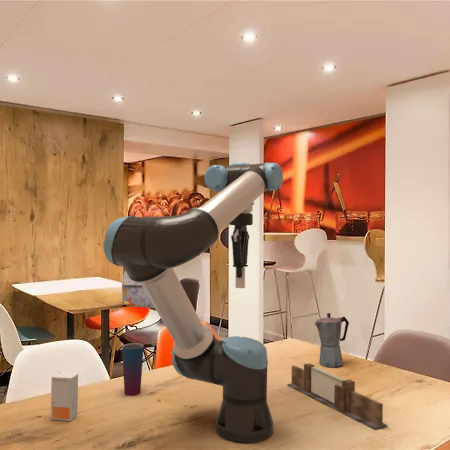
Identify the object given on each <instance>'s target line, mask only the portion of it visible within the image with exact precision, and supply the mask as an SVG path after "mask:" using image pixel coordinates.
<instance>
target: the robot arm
mask: <svg viewBox="0 0 450 450" xmlns="http://www.w3.org/2000/svg"><path fill="white" fill-rule="evenodd" d="M283 182H284V175H283V170H282V167H281V166H280V164H278V163H276V162H262V163H252V164H251V163H248V162H233V163H230V164H229V165H222V164H219V165H218V164H217V165H216V164H214V165H210V166H209V167H208V168H207V169H206V171H205V173H204V184H205V186H206V187H207V188H208V189H209V190H211V191H214V192H216V194H214V196H212V197H211V198H210V199H208V200H207V201H206V202H205V203H203V204H202V205H201V206H199V207H191V208H190V209H188V210H187V211H185V212H183V213H181V214H178V215H168V216H167V215H165V216H136V215H129V216H121V217H119V218H117V219H115V220H114V221H112V222H111V223H110V225H109V226H108V228H107V229H106V231H105V234H104V240H103V243H102V244H103V253H104V256H105V258H106V260H107V261H108V262H109V263H110V264H112V265H114V266H117V267H122V268H123V269H124V272H125V271H126V273H127V274H128V276H129V278H130V279H131V280H132V281H133V282H137V283H141V285H142V287H143V289H144V290H145V292H146V294H147V295H148V297H149V299H150V300H151V302H152V304H153V306H154V307H153V308H154V309H155V310H156V312H157V314H158V316H159V318H160V319H161V321H162V323H163V324H164V326H165V328H166V329H167V331H168V333H169V335H170V336H171V337H172V340H173V346H172V350H171V356H172V358H171V362H172V363H171V364H172V365H173V368H174V370H175V371H176V372H177V373H178V375H180V376H182V377H185V378H186V379H189V380H195V381H198V382H199V381H200V382H204V383H209V384H213V385H217V386H221V387H222V401H221V404H220V407H219V410H218V414H217V416H216V420H215V432H216V433H217V435H218V436H220V437H221V438H223V439H224V440H228V441H231V442H236V443H243V444H244V443H256V442H261V441H264V440H267V439H268V438H269V437H270V438H271V436H272V435H273V434H274V419H273V417H272V412H271V410H270V407H269V404H268V400H267V399H268V365H269V361H268V351H267V348H266V346H265V345H264V344H263V343H262V342H261V341H259V340H257V339H255V338H252V337H247V336H237V335H236V336H234V335H232V336H228V337H225V339H224V340H221V339H217V338H216V336H215V334H214V332H213V330H212V329H211V328H210V327H209V325H208V326H207V325H205V324H203V323H202V321H201V320H200V318H199V315H198V314H197V312H196V310H195V308H194V306H193V304H192V302H191V300H190V298H189V297H188V295H187V293H186V291H185V289H184V287H183V285H182V283H181V282H180V280H179V278H178V276H177V273H176V272H175V270H174V268H176V267H179V266H182V265H184V264H186V263H189V262H191V261H192V260H194V259H195V258H198V257H199V256H200V255H202V254H203V253H204V252H206V251H207V250H209V248H210V247H212V246H213V245H214V244H215V243H216V242H217V241H218V239H219V237H220V236H219V235H220V232H221V231H222V230H224V229H225V228H226V227H227V226H228V225H230V226H234V227H233V231H232V234H231V236H230V239H231V243H232V244H231V245H232V246H231V247H232V261H233V265H232V267H233V268H235V281H234V282H235V285H234V286H235V289H245V288H246V267H249V264H248V254H249V253H248V252H249V241H250V234H249V231H248V227H247V226H252V225H253V223H254V221H253V220H254V219H253V218H254V215H253V208H254V207H253V206H255V202H254V201H256V200H257V199H258V198H260V196H261V195H263V194H264V193H265V192H267V191H270V192H271V191H277V190H279V189H280V188H281V187H282V185H283ZM251 212H252V213H251Z"/></svg>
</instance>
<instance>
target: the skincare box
mask: <svg viewBox="0 0 450 450" xmlns="http://www.w3.org/2000/svg"><path fill="white" fill-rule="evenodd" d="M50 389H51V390H50V393H51V394H50V396H51V397H50V420H54V421H65V422H72V421H73V420H74V419H75V418H77V416H78V411H79V409H78V408H79V407H78V402H79V400H78V399H79V395H78V394H79V373H76V372H75V373H74V372H62V371H61V372H57V373H55V374H54V375H52V376H51V388H50Z"/></svg>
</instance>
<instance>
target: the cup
mask: <svg viewBox="0 0 450 450" xmlns="http://www.w3.org/2000/svg"><path fill="white" fill-rule="evenodd" d="M144 347H145V346H144V344H142V343H137V342H135V343H134V342H132V343H126V344H122V345H121V353H122V370H123V372H122V373H123V388H124V389H123V390H124V391H123V392H124V395H126V396H138V395H140V394H141V391H142V387H141V386H142V375H143V374H142V373H143V359H144Z"/></svg>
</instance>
